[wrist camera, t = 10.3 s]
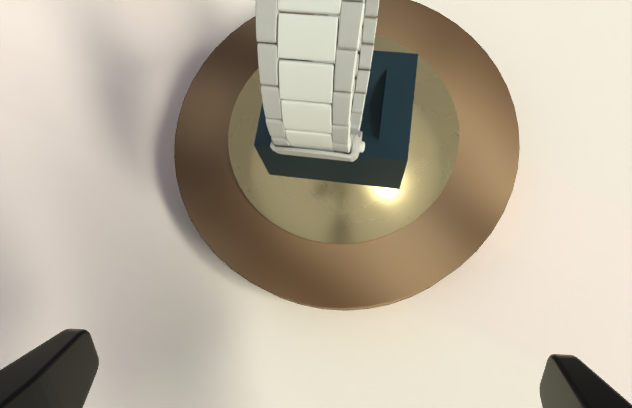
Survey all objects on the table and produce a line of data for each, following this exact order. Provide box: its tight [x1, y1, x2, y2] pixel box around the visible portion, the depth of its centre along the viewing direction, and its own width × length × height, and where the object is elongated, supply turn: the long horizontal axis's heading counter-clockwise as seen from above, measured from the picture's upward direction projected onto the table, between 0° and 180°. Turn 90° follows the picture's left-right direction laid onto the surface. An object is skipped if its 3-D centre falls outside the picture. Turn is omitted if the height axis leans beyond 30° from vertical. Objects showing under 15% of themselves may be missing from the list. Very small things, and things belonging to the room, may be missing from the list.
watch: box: [254, 0, 418, 189], centre depth 15 cm, size 6×8×11 cm
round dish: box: [174, 0, 519, 310], centre depth 21 cm, size 15×15×2 cm
